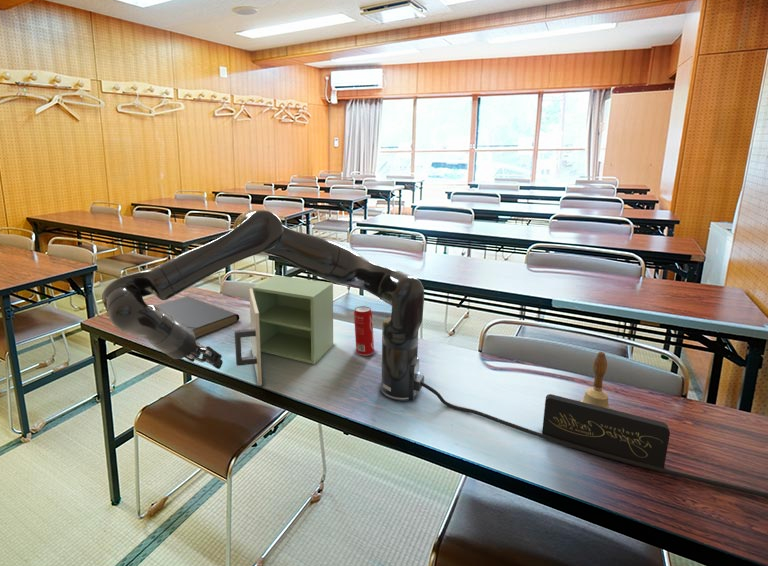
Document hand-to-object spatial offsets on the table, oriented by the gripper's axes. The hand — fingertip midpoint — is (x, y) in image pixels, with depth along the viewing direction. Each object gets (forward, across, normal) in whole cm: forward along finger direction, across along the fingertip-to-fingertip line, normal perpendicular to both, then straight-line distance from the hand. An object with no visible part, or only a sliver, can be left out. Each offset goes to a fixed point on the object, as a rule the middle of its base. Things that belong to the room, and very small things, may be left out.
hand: (206, 361), depth 109 cm
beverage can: (+42, -26, -24) cm, 55 cm away
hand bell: (+38, -87, -20) cm, 97 cm away
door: (+24, +3, -6) cm, 25 cm away
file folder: (+39, +45, -21) cm, 63 cm away
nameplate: (+27, -86, -8) cm, 90 cm away
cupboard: (+37, -4, -19) cm, 42 cm away
